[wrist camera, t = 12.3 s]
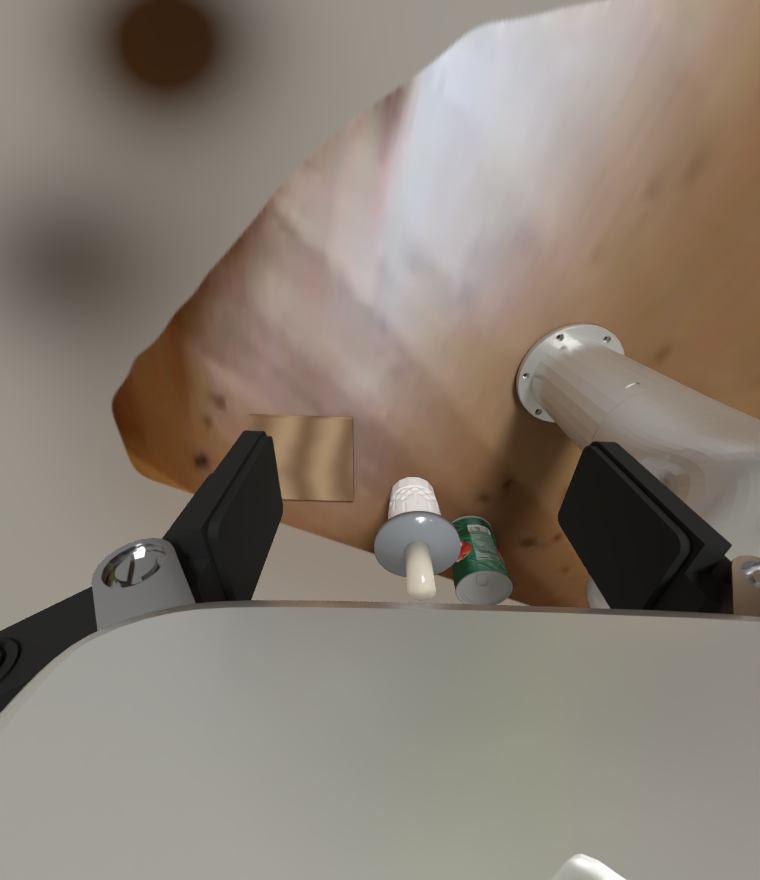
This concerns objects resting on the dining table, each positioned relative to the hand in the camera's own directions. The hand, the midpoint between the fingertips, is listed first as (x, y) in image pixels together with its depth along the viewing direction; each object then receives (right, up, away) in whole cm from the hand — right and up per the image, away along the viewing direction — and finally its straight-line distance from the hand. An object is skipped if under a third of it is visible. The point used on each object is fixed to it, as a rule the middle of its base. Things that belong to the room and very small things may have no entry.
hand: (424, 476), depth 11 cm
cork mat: (-12, -2, +40) cm, 42 cm away
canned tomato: (+13, -14, +47) cm, 51 cm away
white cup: (+4, -7, +43) cm, 44 cm away
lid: (+3, -12, +34) cm, 37 cm away
